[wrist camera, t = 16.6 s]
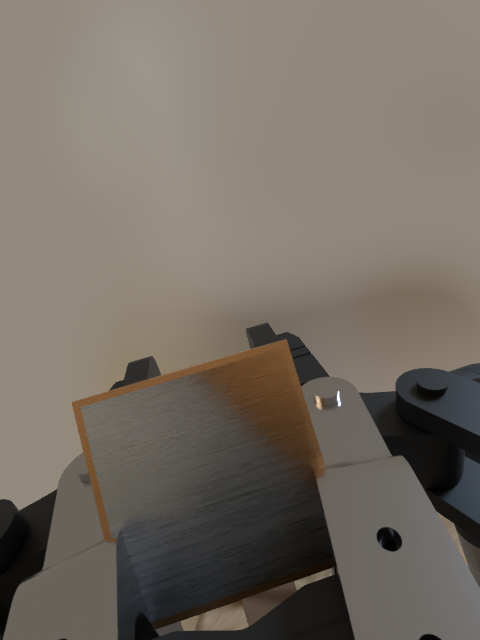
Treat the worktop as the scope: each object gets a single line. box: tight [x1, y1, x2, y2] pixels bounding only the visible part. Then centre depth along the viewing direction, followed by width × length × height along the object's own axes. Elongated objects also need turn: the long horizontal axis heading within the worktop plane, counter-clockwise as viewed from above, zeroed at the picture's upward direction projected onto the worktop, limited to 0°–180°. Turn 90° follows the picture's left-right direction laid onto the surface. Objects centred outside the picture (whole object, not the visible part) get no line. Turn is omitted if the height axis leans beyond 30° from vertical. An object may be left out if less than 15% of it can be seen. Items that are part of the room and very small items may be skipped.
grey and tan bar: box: [72, 339, 335, 632], centre depth 16 cm, size 3×24×3 cm, turn 3°
